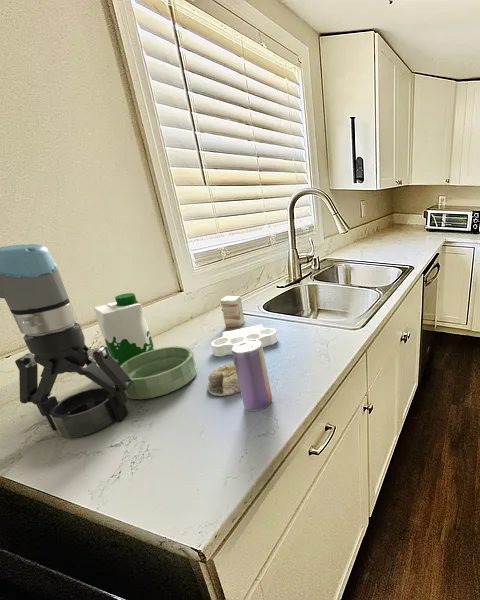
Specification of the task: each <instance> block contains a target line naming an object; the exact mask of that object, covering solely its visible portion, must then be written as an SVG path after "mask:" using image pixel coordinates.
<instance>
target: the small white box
mask: <svg viewBox="0 0 480 600" xmlns="http://www.w3.org/2000/svg"><path fill="white" fill-rule="evenodd" d="M220 305H221V310H222V311H221V312H222V316H223V320H224V325H225V327H226V328H239V327H240V328H241V326H243V324H245V323H246V321H245V315H244V310H243V309H244V308H243V303H242V297H241V295H226V296H224V297H223V298H221V299H220Z"/></svg>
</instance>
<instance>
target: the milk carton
mask: <svg viewBox="0 0 480 600" xmlns="http://www.w3.org/2000/svg"><path fill="white" fill-rule="evenodd" d="M114 299H115V301H114V302H109V303H106V304H103V305H99V306H94V307H93V310H94V313H95V316H96V320H97V323H98V327H99V330H100V332H101V335H102V337H103V340H104V342H105V346H106V347H107V348H108V351H109V354H110V356H111V357H112V358H113V359H114V360H115V362H116V363H117V364H118V365H119V366H120V365H122V364H123V363H124V362H126V361H127V360H129V359H131V358H132V357H135V356H137V355H139V354H142V353H144V352H148V351H151V350H154V349H155V346H154V342H153V339H152V336H151V333H150V330H149V327H148V326H149V325H148V324H147V321H146V317H145V313H144V309H143V305H142V304H141V302H139V301H138V300H137V298H136V294H135V293H133V292H129V293H122V294H118V295H115V297H114Z"/></svg>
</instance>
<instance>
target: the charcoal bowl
mask: <svg viewBox="0 0 480 600" xmlns="http://www.w3.org/2000/svg"><path fill="white" fill-rule="evenodd" d="M109 394H110V393H109V392H108V391H106V390H105V389H104V388H102V387H101V386H99V387H92V388H88V389H84V390H80V391H78V392H76V393H74V394H70V395H69V396H67V397H65V398H63V399H61V400H60V401H58V403H57V404H56V405H55V406H54V407H53V408H51V411H50V416H51V418H52V420H53V422H54V424H55V426H56V428H57V433H58V434H59V435H60V436H61V437H62V438H68V439H73V438H80V437H83V436H87V435H90V434H94V433H96V432H98V431H100V430H102V429H104V428H106V427H107V426H109V425H111V423H113V422H115V420H116V421H117V419H116V417H115V414H114V412H113V409H112V407H111V404H110V402H109V399H108V397H107V396H108V395H109Z"/></svg>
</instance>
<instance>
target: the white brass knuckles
mask: <svg viewBox="0 0 480 600" xmlns="http://www.w3.org/2000/svg"><path fill="white" fill-rule="evenodd" d="M245 340H258V341H260V342H261V345H262V347H263V348H265V347H267V346H273V345H275V344H277V342H278V334H277V330H276V329H275V328H272V327H264V326H263V324H258V325H253V326H248V327H241V328H239V329H232V330H228V331H223V332H222V336H221V337H218V338H216V339H214V340H213V341H211V343H210V345H211V349H212V350H211V351H212V354H213V356H215V357H219V358H220V357H224V356H229V355H232V352H233V350H232V348H233V346H234V345H236V344H237V343H239V342H242V341H245ZM232 356H233V355H232Z"/></svg>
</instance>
